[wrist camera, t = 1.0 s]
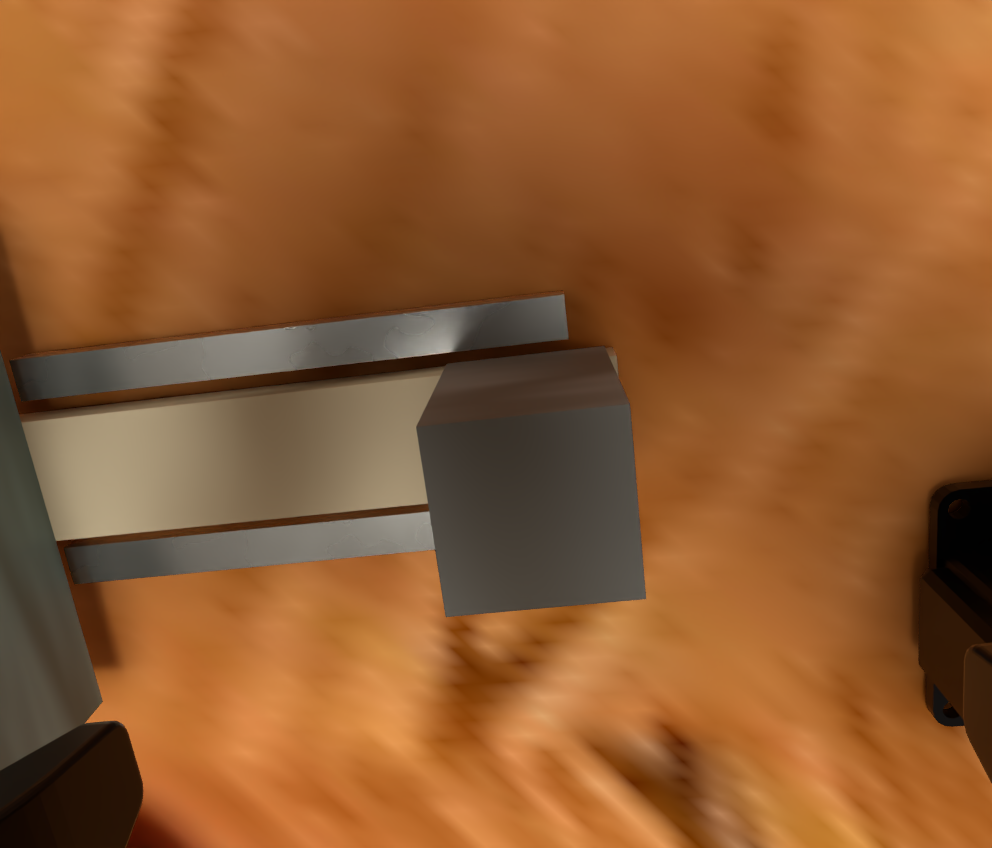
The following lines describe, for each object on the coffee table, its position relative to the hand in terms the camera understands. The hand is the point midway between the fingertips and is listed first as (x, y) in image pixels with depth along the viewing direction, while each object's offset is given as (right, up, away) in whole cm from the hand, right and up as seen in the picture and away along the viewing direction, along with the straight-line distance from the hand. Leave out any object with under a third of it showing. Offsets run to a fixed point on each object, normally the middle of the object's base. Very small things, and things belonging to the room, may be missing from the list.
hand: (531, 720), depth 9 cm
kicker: (-5, +3, +11) cm, 13 cm away
